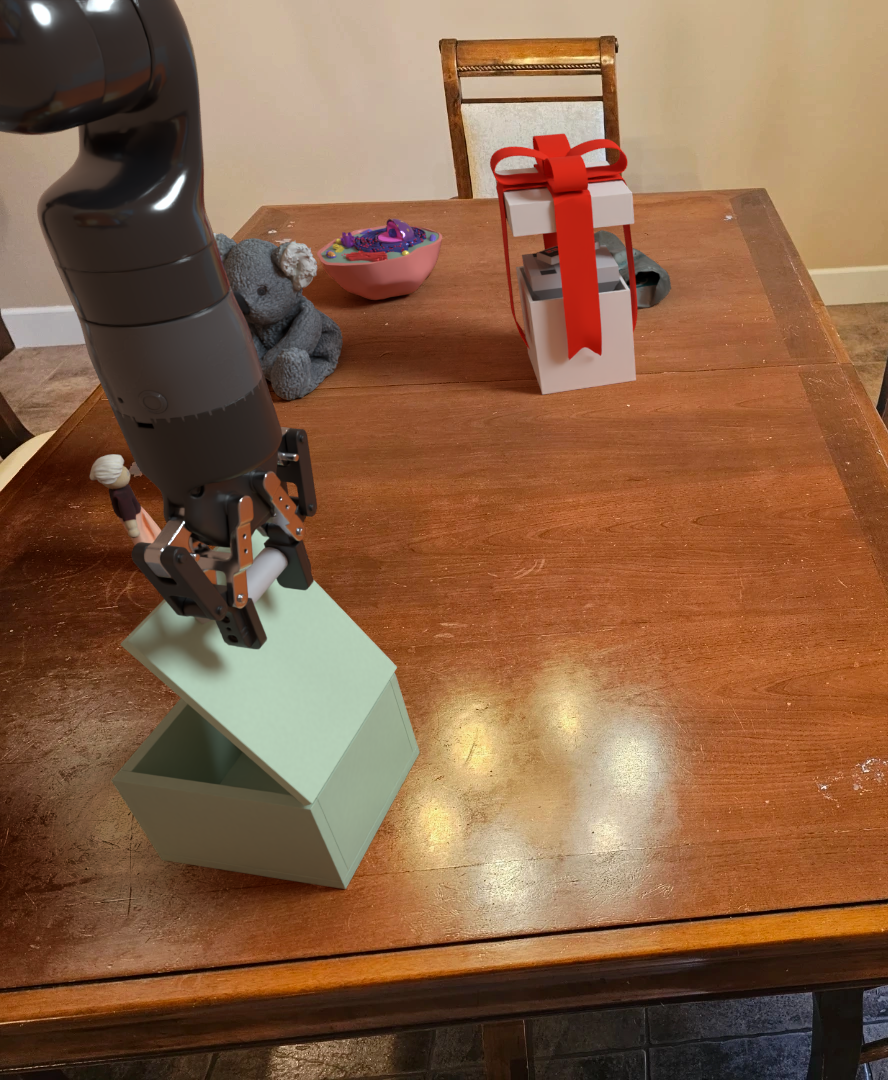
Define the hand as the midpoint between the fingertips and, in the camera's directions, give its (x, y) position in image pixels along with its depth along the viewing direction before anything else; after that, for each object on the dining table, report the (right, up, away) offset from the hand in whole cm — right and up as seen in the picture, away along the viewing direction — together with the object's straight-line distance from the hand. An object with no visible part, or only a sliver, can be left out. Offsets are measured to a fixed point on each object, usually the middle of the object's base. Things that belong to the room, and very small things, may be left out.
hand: (273, 613), depth 60 cm
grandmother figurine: (-31, +3, +38) cm, 50 cm away
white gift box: (+9, +29, +73) cm, 79 cm away
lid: (-1, -3, +3) cm, 5 cm away
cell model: (-26, +46, +95) cm, 109 cm away
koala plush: (-33, +29, +73) cm, 85 cm away
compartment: (-5, -16, +13) cm, 21 cm away
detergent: (+12, +48, +97) cm, 109 cm away
